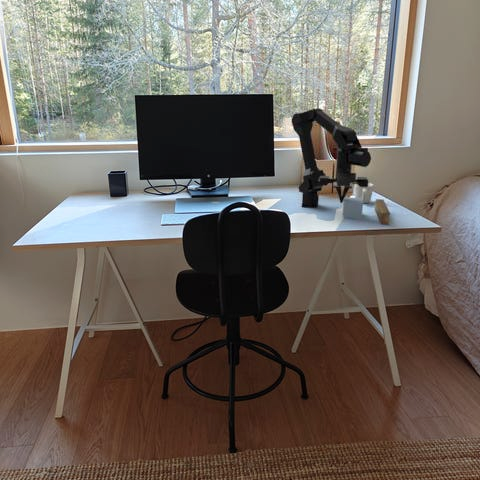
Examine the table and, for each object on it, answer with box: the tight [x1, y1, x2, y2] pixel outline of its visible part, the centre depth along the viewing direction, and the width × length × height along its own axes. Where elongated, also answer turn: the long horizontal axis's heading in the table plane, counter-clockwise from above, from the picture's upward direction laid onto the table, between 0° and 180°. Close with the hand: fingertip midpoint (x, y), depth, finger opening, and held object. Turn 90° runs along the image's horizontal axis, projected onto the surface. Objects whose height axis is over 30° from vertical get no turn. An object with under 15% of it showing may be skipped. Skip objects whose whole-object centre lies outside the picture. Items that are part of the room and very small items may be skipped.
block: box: [341, 196, 364, 220], centre depth 169 cm, size 7×7×6 cm
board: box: [374, 198, 391, 226], centre depth 167 cm, size 3×20×4 cm, turn 169°
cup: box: [354, 182, 375, 204], centre depth 187 cm, size 11×8×8 cm
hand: (341, 202), depth 169 cm, fingers closed
